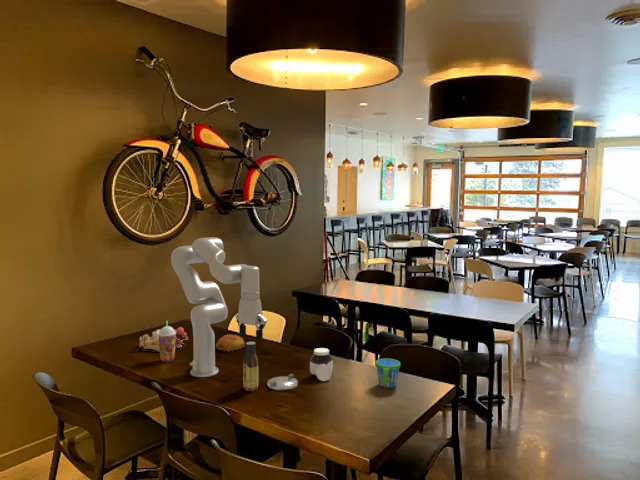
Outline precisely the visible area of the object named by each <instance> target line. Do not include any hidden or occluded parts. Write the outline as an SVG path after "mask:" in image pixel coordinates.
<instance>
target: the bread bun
mask: <svg viewBox="0 0 640 480" xmlns="http://www.w3.org/2000/svg"><path fill="white" fill-rule="evenodd" d="M243 347H244V348H245V347H246V343H245V340H244V338H242V336H240V335H237V334H231V333H229V334H224V335H223V336H222V337H221V338H219V339H218V340H217V342H216V344H215V349H216V348H217V350H218V349H219V350H218V351H220V350H224V351H223V352H225V351H227V352H230V351H232V352H234V351H233V350H237V351H239V350H238V349H240V350H242V349H241V348H243ZM244 348H243V349H244Z"/></svg>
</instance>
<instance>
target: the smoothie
mask: <svg viewBox="0 0 640 480" xmlns="http://www.w3.org/2000/svg"><path fill="white" fill-rule="evenodd" d="M168 321H169V320H166V321H165V322H166V325H165V326H163V327H162V328H160V329H161V330H160V329H159V330H160V332H159V333H158V336H159V348H160V351H159V357H160V360H161V362H162V363H172V362H173V361H174V360H175V357H176V349H175V341H176V337H177V334H176V332H175V330H176V329H174V328H173V326H169V324H168V323H169V322H168ZM171 361H172V362H171Z"/></svg>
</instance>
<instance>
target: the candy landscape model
mask: <svg viewBox="0 0 640 480" xmlns="http://www.w3.org/2000/svg"><path fill="white" fill-rule="evenodd" d="M161 329H162V328H160V329H156V330H155V331H152V333H151V334H152V335H151V336H150V335H149V334H148V333H147V334H144V335H142V336H140V337H139V347H141V346H143V347H144V349H152V350H155V351H157V352H160V348H159V336H158V333H159V332H160V330H161ZM174 330H175V332H176V335H181V337H182V338H184V339H183V340H189V336H188V334H187V332H185V329H184V328H183V327H181V326H180V327H177V329H174ZM183 340H180V338H178V337H177V336H176V341H175V350H177V349H176V348H180V347H181V348H183V347H182V345H181V344H184V343H183ZM181 348H180V349H181ZM155 351H154V352H155Z"/></svg>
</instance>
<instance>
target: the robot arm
mask: <svg viewBox="0 0 640 480" xmlns="http://www.w3.org/2000/svg"><path fill="white" fill-rule="evenodd" d="M224 247H225V246H224V243H223V241H222V239H220V238H218V237H215V236H212V237H200V238H197V239H195V240H194V241H193V242H192V244H190V245H183V246H178V247H176V248H174V249H173V251H172V252H171V256H170V261H171V263H170V264H171V266H172V269H173V270H174V272H175V274H176V275H177V277H178V280H179V281H180V285H181V287H182V289H183V291H184V292H183V293H184V295H185V297H186V299H187V301H188V302H189V303H190V304H192V305H196V306H194V307H193V308H192V309H191V311H190V322H191V325H192V339H193V341H192V348H193V351H192V352H193V360H192V361H191V362H189V365H190V366H192V369H191V370H190V372H189V373H190V375H191V377H196V378H206V377H207V378H208V377H212V376H215V375H217V374H219V368H218V367H217V366H216V346H215V345H216V344H215V343H216V342H215V341H216V339H215V338H216V336H215V332H214V329H213V328H212V326H211V325H213V324H217V323H221V322H224V321H225V320H226V319H227V318H228V317H229V316H228V315H229V314H228V313H229V310H228V305H227V304H226V301H225V299H224V296H223V294H222V291H221V289H220V287H219V286H218V284H217V283H216V282H214V281H210V280H209V281H202V280H201V279H200V276H199V273H198V272H197V270H195V268H194V267H192V266H190V264H198V263H206V264H208V266H209V268H208V269H209V272H210V275H211V276H212V277H213V278H214V279H216V280H217V281H218V282H220V283H222V284H225V285H231V284H238V283H240V299H239V303H238V313H236V314H235V315H234V316H235V319H236V322H237V326H238V327H239V329H238V330H239V335H238V336H239V337H242V336H246V335H247V325H250V326H255V328H256V329H255V339H256V340H257V341H258V340H261V339H264V337H263V335H264V333H263V331H264V329H265V327H266V325H267V322H268V320H267V318H265V317H264V316H263V308H262V301H261V299H260V296H261V295H260V293H261V292H260V289H261V288H260V268H259V267H258V266H256V265H249V264H244V263H241V264H239V263H238V264H230V265H225V264H224V263H225V261H226V252H225V251H224Z"/></svg>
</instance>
